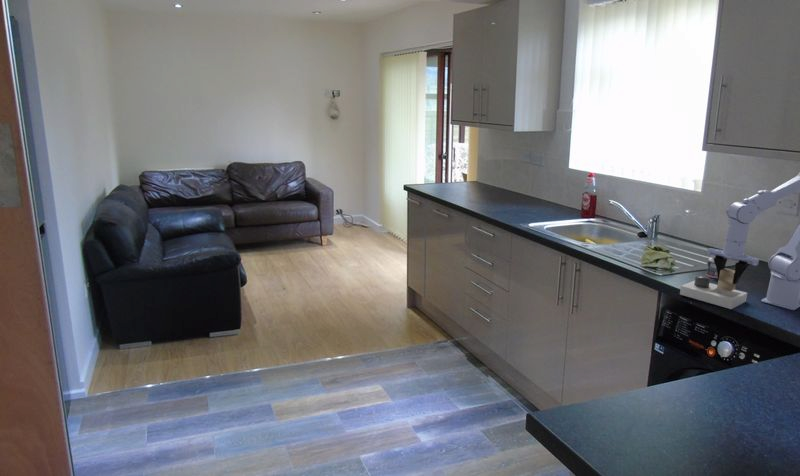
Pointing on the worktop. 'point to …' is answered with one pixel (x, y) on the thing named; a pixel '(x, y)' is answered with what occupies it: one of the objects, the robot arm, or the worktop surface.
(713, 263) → the pill bottle
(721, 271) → the plug block
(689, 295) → the white tray
